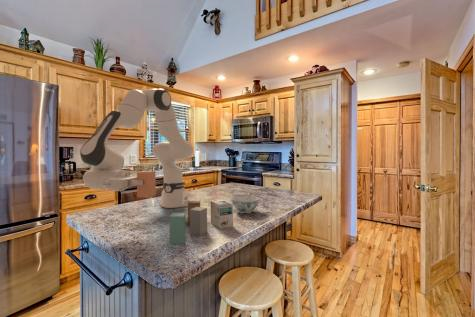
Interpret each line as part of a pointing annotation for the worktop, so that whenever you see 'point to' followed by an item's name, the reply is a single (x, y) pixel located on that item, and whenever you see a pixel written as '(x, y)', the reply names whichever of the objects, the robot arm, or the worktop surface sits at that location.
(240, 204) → the chinaware
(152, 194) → the terracotta block
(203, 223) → the slate-grey block
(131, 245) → the worktop surface
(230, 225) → the light bulb box
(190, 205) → the walnut block
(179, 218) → the muted teal block
